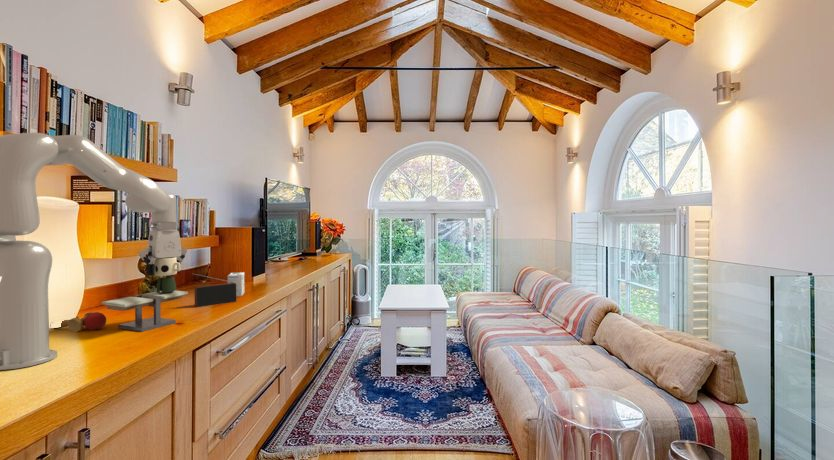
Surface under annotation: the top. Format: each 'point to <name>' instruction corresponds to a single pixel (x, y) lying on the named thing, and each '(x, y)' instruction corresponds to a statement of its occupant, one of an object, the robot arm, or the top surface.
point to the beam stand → (147, 319)
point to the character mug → (166, 273)
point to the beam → (142, 300)
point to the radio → (215, 294)
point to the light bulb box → (237, 282)
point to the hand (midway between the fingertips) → (164, 273)
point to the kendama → (85, 322)
